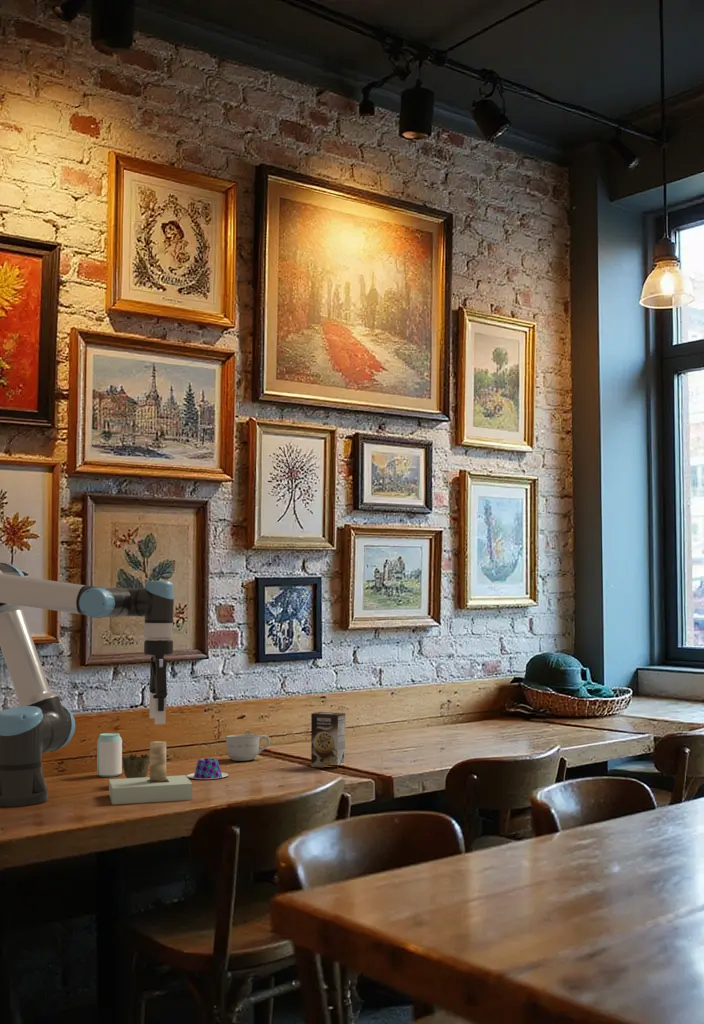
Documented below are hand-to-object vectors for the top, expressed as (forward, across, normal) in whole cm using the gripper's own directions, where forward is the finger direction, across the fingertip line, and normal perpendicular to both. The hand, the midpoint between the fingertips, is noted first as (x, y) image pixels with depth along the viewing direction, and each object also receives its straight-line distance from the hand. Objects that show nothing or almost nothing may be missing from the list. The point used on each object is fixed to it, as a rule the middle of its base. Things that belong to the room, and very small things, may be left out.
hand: (157, 721), depth 278 cm
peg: (+19, 0, 0) cm, 19 cm away
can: (+20, +39, +10) cm, 45 cm away
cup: (+20, +20, +4) cm, 28 cm away
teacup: (+20, +55, -34) cm, 68 cm away
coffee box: (+19, +34, -55) cm, 68 cm away
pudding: (+20, +27, -17) cm, 38 cm away
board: (+19, 0, +2) cm, 19 cm away
